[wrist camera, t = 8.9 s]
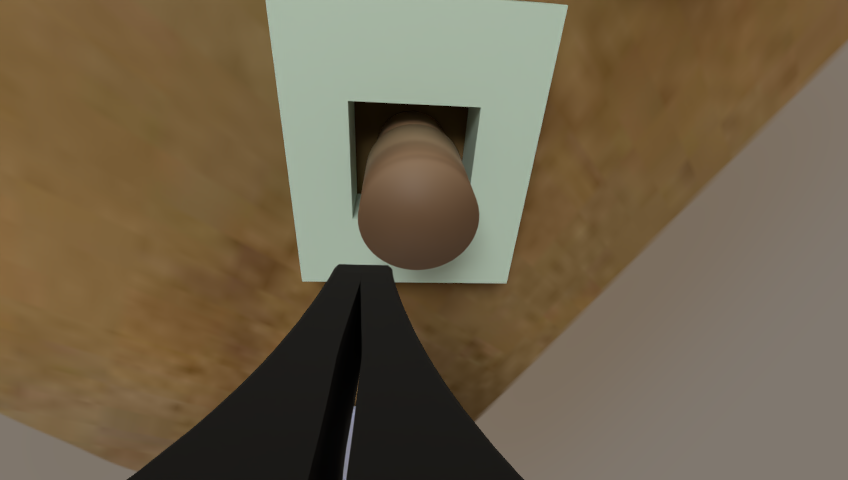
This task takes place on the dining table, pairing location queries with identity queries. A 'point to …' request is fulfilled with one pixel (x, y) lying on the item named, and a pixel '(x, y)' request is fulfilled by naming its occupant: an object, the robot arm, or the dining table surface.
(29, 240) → the dining table surface
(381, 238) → the peg
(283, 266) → the dining table surface
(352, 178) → the board
